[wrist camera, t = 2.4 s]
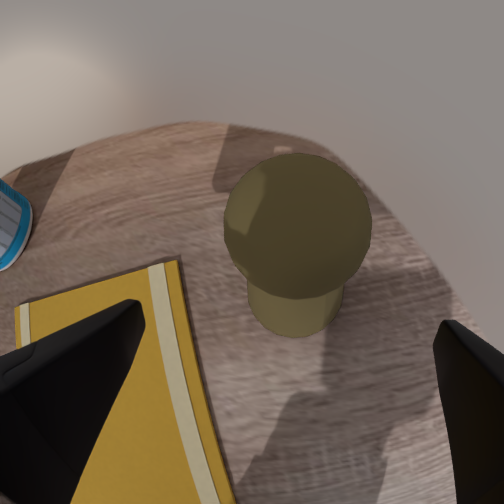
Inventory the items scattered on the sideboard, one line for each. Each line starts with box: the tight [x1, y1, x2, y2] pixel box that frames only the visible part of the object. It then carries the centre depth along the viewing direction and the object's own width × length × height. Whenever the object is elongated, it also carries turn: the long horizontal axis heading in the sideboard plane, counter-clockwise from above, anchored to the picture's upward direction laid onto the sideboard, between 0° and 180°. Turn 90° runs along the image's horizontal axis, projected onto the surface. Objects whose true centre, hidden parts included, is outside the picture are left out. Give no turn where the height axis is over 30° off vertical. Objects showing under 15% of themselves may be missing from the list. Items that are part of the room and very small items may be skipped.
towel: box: [15, 260, 236, 504], centre depth 17 cm, size 20×16×1 cm
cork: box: [224, 153, 372, 338], centre depth 15 cm, size 6×6×11 cm
